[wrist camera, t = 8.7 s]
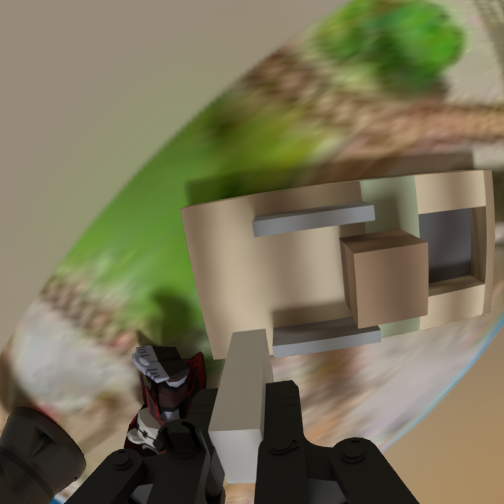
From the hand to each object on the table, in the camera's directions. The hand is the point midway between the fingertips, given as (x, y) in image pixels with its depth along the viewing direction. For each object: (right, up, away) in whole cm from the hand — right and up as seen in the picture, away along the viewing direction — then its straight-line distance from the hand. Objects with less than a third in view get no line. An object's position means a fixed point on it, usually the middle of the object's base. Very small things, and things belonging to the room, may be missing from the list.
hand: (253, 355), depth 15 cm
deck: (+9, +4, +12) cm, 16 cm away
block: (+9, +4, +9) cm, 14 cm away
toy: (-7, -10, +17) cm, 21 cm away
